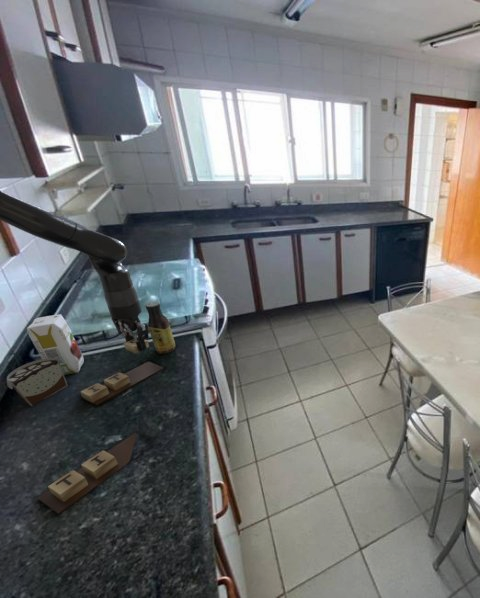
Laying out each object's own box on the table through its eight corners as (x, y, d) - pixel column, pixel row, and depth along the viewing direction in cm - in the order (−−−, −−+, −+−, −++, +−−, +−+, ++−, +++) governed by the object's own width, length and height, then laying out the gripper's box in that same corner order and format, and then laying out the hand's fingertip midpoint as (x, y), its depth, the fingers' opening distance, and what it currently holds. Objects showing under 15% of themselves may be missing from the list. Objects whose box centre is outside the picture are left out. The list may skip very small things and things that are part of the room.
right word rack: (96, 406, 97) (93, 397, 95) (80, 398, 99) (76, 389, 98) (164, 369, 114) (162, 361, 112) (149, 363, 116) (146, 355, 115)
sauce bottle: (153, 352, 122) (135, 305, 114) (169, 344, 127) (153, 298, 119) (165, 357, 120) (148, 309, 111) (181, 348, 125) (166, 301, 117)
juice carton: (50, 380, 105) (21, 329, 97) (58, 365, 112) (32, 317, 103) (80, 373, 108) (55, 324, 100) (87, 359, 115) (64, 312, 107)
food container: (57, 379, 105) (43, 354, 101) (73, 382, 104) (59, 356, 100) (9, 407, 94) (-9, 379, 90) (26, 410, 93) (8, 383, 89)
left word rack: (59, 515, 69) (54, 505, 68) (38, 500, 72) (32, 489, 70) (155, 445, 86) (152, 435, 85) (135, 434, 89) (132, 425, 87)
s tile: (135, 353, 105) (132, 346, 104) (125, 349, 106) (123, 343, 105) (149, 346, 109) (147, 340, 108) (140, 343, 110) (138, 336, 109)
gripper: (93, 300, 99) (110, 347, 107) (124, 311, 95) (140, 359, 102) (121, 291, 106) (135, 337, 113) (151, 301, 101) (163, 348, 108)
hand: (137, 347), depth 107 cm, fingers closed on s tile, 4 cm apart
